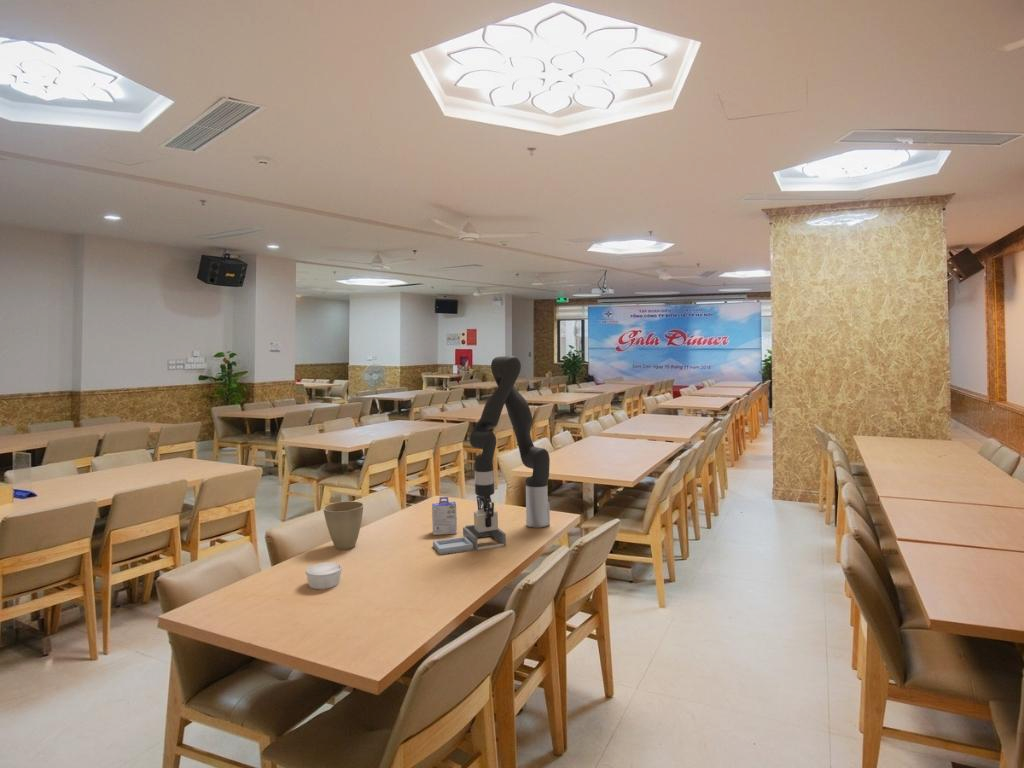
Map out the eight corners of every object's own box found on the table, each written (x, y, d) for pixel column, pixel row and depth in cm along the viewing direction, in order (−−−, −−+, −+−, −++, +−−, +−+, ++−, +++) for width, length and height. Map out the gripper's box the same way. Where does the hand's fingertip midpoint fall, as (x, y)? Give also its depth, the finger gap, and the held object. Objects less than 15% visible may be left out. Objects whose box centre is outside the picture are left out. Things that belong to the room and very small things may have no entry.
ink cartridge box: (456, 530, 246) (455, 495, 245) (457, 534, 240) (456, 499, 240) (432, 531, 245) (431, 497, 244) (432, 535, 239) (431, 500, 238)
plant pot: (340, 539, 236) (339, 499, 235) (372, 542, 231) (371, 502, 230) (316, 551, 222) (314, 509, 221) (349, 555, 217) (348, 512, 216)
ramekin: (338, 590, 185) (337, 574, 185) (302, 592, 185) (301, 575, 184) (345, 576, 197) (345, 561, 196) (311, 578, 196) (310, 562, 196)
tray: (465, 541, 230) (465, 536, 230) (473, 549, 221) (473, 544, 221) (433, 546, 225) (432, 540, 225) (439, 554, 216) (439, 548, 216)
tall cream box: (493, 525, 233) (492, 508, 232) (498, 529, 228) (497, 511, 227) (474, 528, 230) (473, 510, 229) (478, 532, 225) (477, 514, 224)
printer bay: (492, 534, 239) (492, 522, 239) (506, 545, 225) (506, 532, 225) (463, 538, 235) (462, 526, 234) (475, 550, 220) (474, 537, 220)
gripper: (500, 484, 222) (501, 528, 223) (487, 476, 235) (488, 518, 237) (481, 487, 219) (483, 531, 221) (469, 479, 233) (471, 521, 234)
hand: (486, 524), depth 229 cm, fingers closed on tall cream box, 5 cm apart
